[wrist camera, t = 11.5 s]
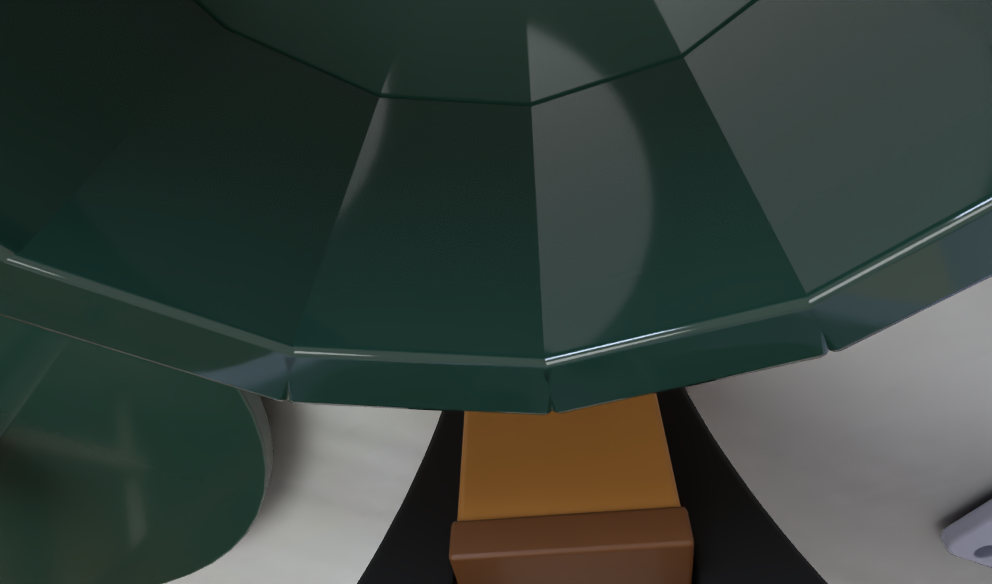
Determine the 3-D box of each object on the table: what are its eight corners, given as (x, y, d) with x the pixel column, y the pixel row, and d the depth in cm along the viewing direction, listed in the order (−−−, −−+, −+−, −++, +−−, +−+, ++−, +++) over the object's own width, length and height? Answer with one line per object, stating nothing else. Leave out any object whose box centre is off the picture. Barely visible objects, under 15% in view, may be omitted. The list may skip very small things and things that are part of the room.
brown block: (634, 441, 15) (682, 726, 11) (508, 451, 15) (507, 732, 11) (628, 247, 12) (695, 545, 7) (469, 263, 12) (447, 559, 8)
